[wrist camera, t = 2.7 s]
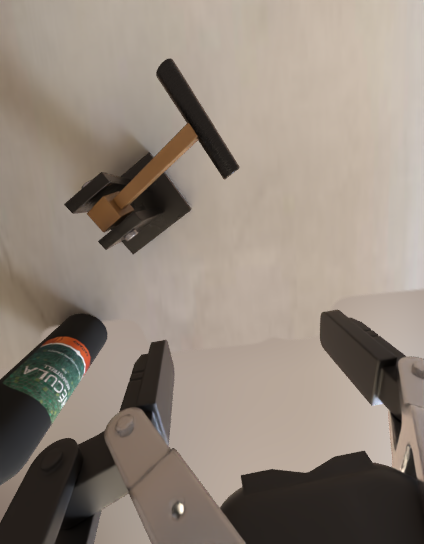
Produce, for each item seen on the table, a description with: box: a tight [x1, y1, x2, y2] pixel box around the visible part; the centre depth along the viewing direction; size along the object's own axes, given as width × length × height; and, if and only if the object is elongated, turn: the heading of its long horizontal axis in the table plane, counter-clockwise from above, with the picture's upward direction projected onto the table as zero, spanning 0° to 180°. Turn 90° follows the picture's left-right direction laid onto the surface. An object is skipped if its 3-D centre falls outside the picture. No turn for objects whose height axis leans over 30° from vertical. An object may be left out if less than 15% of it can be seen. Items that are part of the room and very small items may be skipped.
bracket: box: [64, 153, 191, 254], centre depth 26 cm, size 11×9×14 cm
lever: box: [87, 59, 239, 232], centre depth 19 cm, size 13×8×2 cm, turn 126°
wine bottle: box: [0, 314, 107, 485], centre depth 25 cm, size 8×8×30 cm
